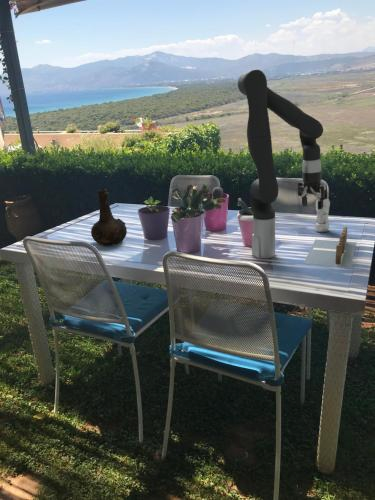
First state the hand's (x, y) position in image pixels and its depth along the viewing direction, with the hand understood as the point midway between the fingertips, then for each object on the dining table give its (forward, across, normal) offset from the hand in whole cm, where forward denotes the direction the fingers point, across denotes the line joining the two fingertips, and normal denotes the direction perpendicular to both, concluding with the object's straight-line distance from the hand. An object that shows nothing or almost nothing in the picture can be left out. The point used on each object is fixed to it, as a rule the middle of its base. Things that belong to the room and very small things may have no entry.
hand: (312, 207), depth 179 cm
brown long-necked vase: (+14, -74, -67) cm, 101 cm away
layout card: (+19, +10, 0) cm, 21 cm away
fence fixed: (+18, +16, -3) cm, 25 cm away
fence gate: (+19, +9, +9) cm, 22 cm away
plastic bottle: (+20, -12, +20) cm, 31 cm away
